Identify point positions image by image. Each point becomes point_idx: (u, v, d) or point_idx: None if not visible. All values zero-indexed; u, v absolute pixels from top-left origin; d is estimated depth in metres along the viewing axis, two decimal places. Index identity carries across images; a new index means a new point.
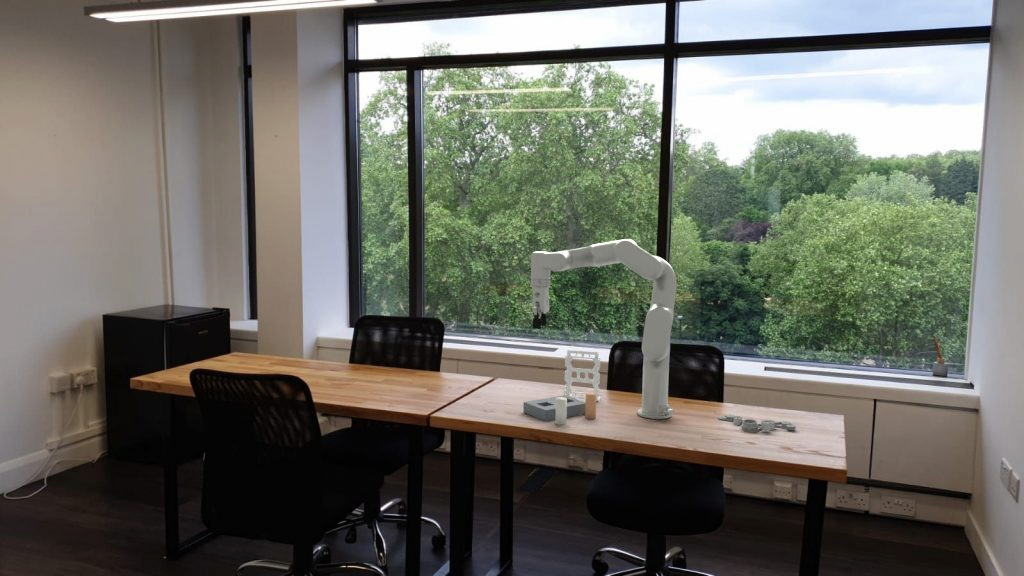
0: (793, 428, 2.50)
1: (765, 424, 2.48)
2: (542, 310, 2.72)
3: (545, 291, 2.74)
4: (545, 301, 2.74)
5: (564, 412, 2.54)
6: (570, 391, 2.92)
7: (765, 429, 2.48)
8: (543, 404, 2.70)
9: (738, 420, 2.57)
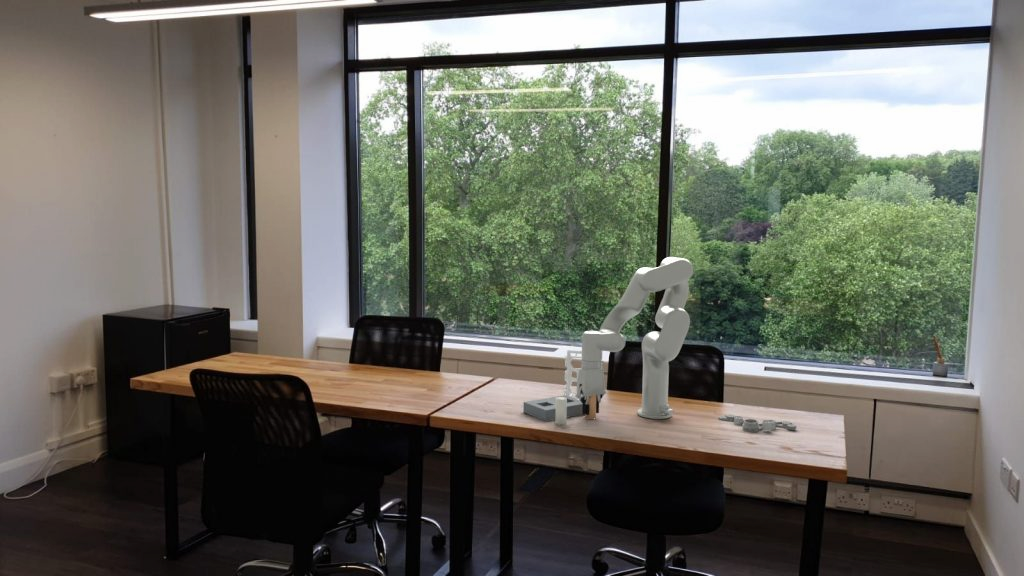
0: (794, 428, 2.50)
1: (766, 424, 2.48)
2: None
3: None
4: None
5: (564, 412, 2.54)
6: (570, 391, 2.92)
7: (767, 428, 2.48)
8: (543, 404, 2.70)
9: (739, 420, 2.58)
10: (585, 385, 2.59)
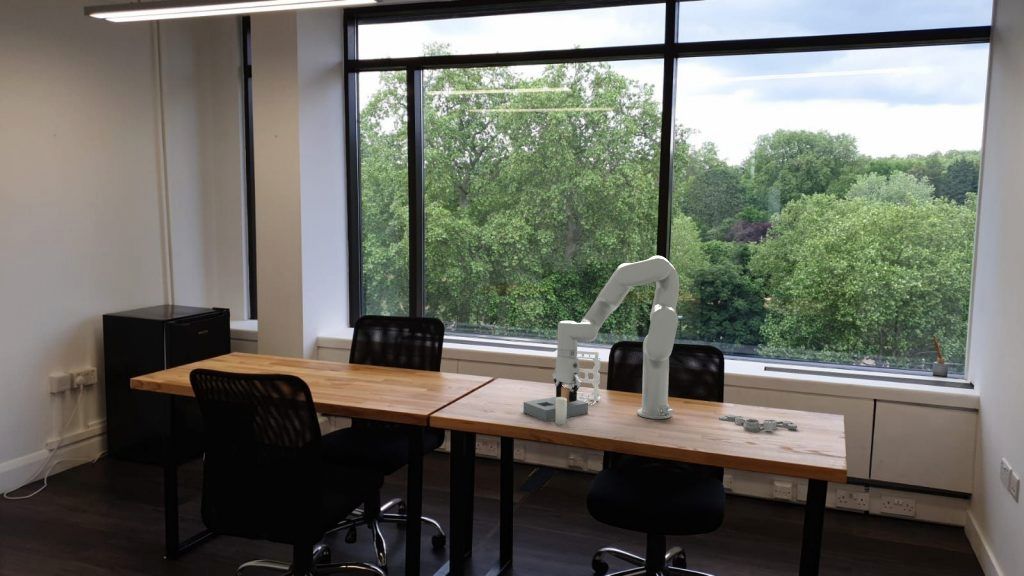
0: (795, 427, 2.51)
1: (768, 424, 2.48)
2: None
3: None
4: None
5: (564, 412, 2.54)
6: None
7: (768, 428, 2.48)
8: (543, 404, 2.70)
9: (740, 420, 2.58)
10: (555, 369, 2.74)
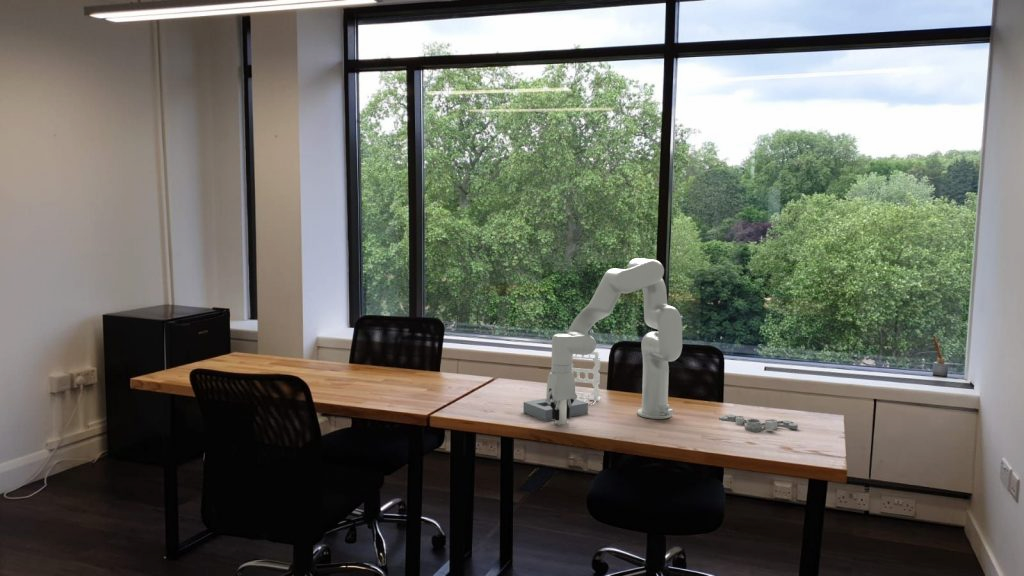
0: (795, 427, 2.52)
1: (769, 423, 2.49)
2: None
3: None
4: None
5: (564, 412, 2.54)
6: None
7: (769, 428, 2.49)
8: (543, 404, 2.70)
9: (740, 420, 2.58)
10: (555, 390, 2.51)
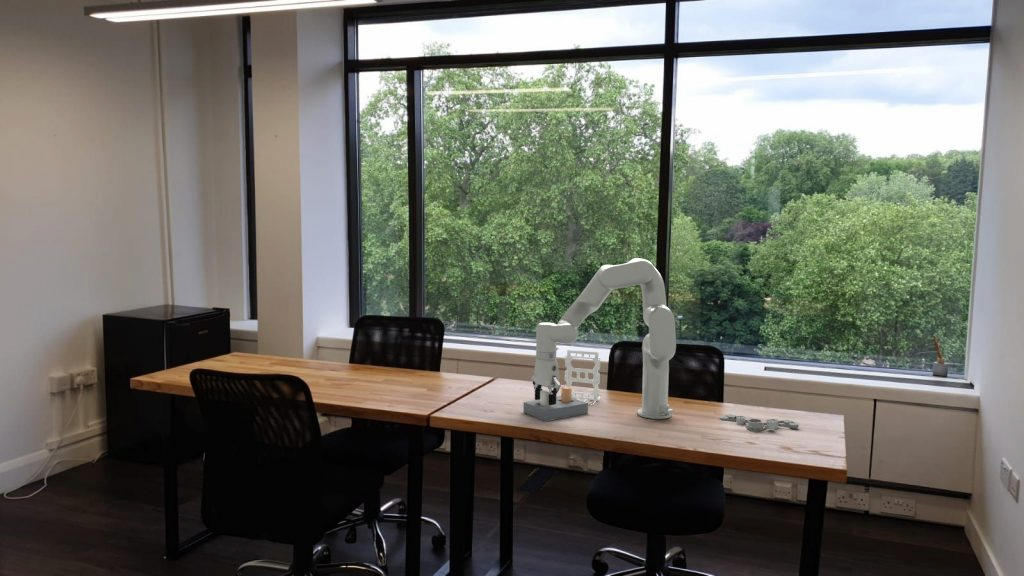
0: (796, 426, 2.52)
1: (771, 423, 2.49)
2: None
3: None
4: None
5: (541, 404, 2.66)
6: None
7: (771, 428, 2.49)
8: None
9: (741, 420, 2.58)
10: (534, 372, 2.69)
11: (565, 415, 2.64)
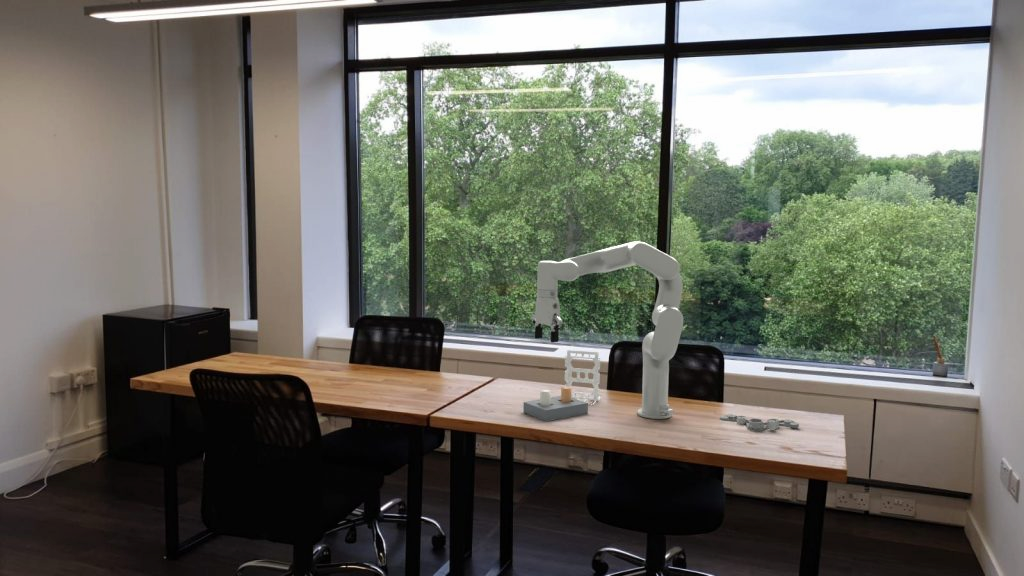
0: (797, 426, 2.53)
1: (772, 423, 2.49)
2: None
3: None
4: None
5: (541, 403, 2.66)
6: None
7: (772, 427, 2.49)
8: None
9: (742, 420, 2.58)
10: (535, 311, 2.67)
11: (565, 415, 2.64)
